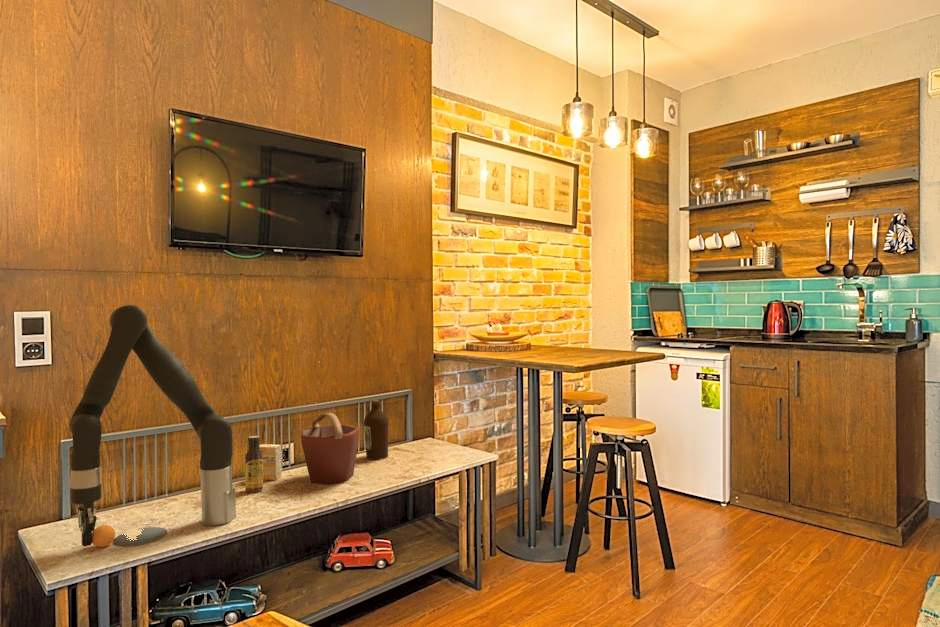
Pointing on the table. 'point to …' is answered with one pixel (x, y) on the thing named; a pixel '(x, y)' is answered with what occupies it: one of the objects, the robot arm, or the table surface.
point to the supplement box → (271, 461)
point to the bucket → (330, 450)
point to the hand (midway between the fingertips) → (86, 545)
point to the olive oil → (376, 433)
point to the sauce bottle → (254, 466)
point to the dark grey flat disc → (141, 537)
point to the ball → (103, 535)
